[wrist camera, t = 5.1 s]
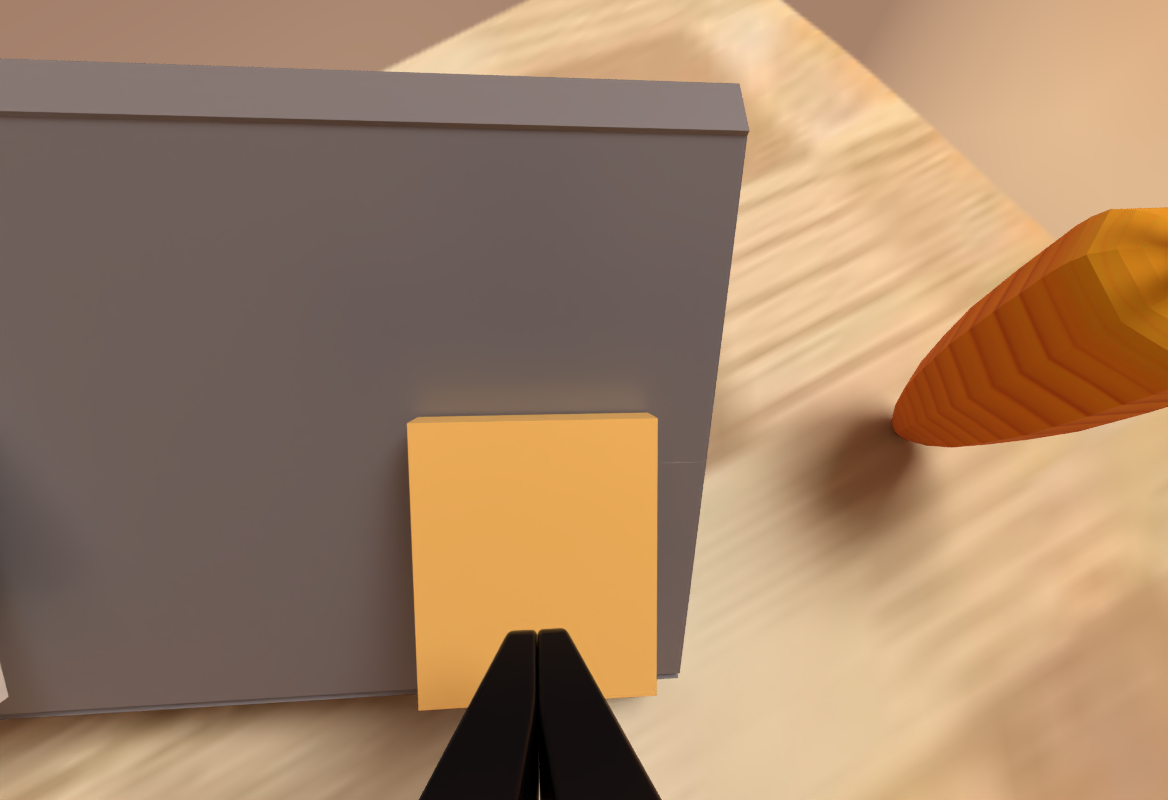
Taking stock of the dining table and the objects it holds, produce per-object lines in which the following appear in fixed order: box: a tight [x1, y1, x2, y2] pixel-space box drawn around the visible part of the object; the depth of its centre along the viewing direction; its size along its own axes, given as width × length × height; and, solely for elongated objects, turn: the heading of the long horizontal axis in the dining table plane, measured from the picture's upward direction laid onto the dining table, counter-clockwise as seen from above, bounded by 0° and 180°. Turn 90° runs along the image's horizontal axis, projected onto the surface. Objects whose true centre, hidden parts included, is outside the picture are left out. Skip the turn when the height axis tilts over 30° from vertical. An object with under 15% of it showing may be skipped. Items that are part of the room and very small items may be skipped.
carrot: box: [891, 208, 1168, 447], centre depth 15 cm, size 5×5×15 cm
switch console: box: [0, 59, 749, 720], centre depth 13 cm, size 12×22×13 cm, turn 93°
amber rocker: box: [407, 413, 658, 711], centre depth 12 cm, size 5×5×5 cm
